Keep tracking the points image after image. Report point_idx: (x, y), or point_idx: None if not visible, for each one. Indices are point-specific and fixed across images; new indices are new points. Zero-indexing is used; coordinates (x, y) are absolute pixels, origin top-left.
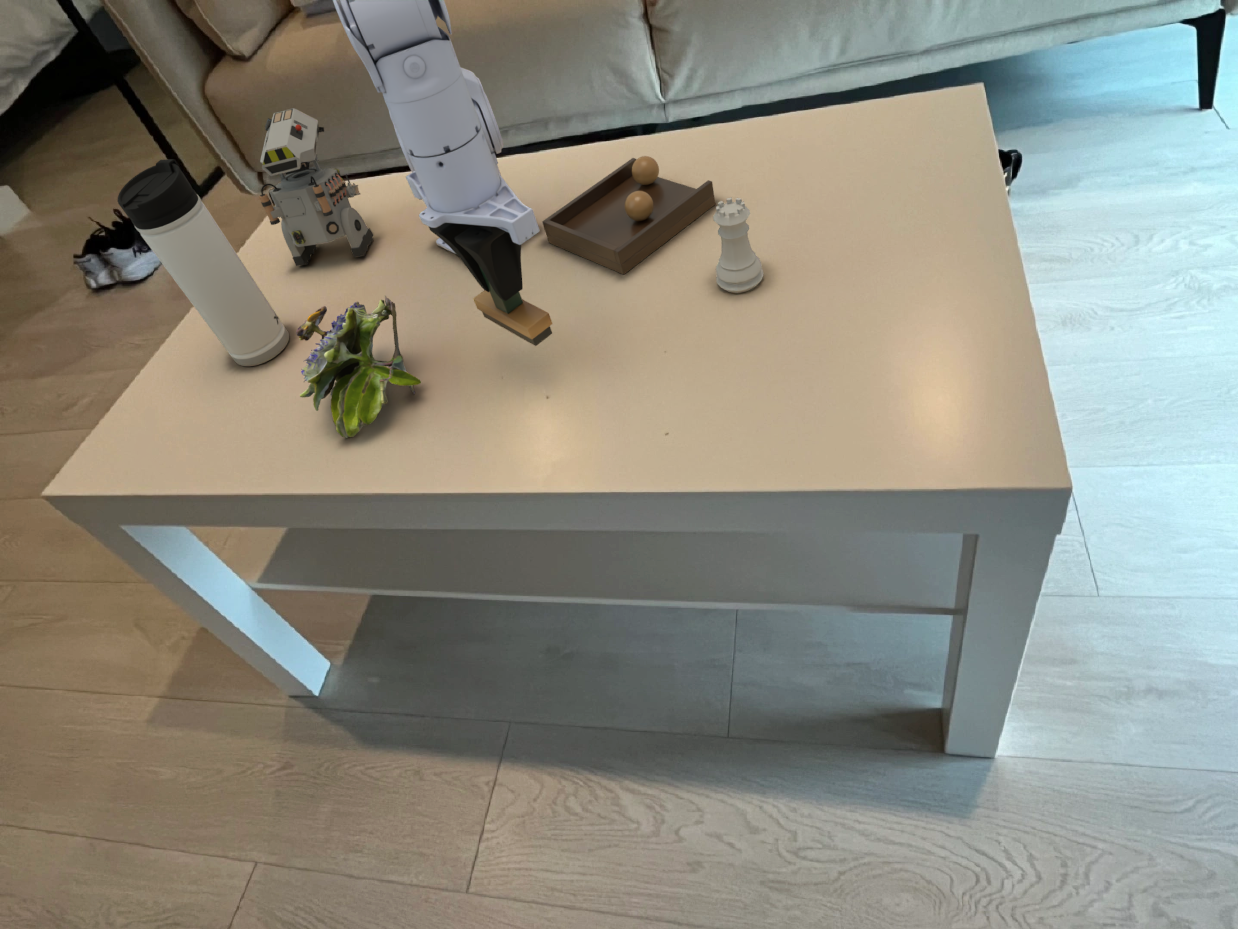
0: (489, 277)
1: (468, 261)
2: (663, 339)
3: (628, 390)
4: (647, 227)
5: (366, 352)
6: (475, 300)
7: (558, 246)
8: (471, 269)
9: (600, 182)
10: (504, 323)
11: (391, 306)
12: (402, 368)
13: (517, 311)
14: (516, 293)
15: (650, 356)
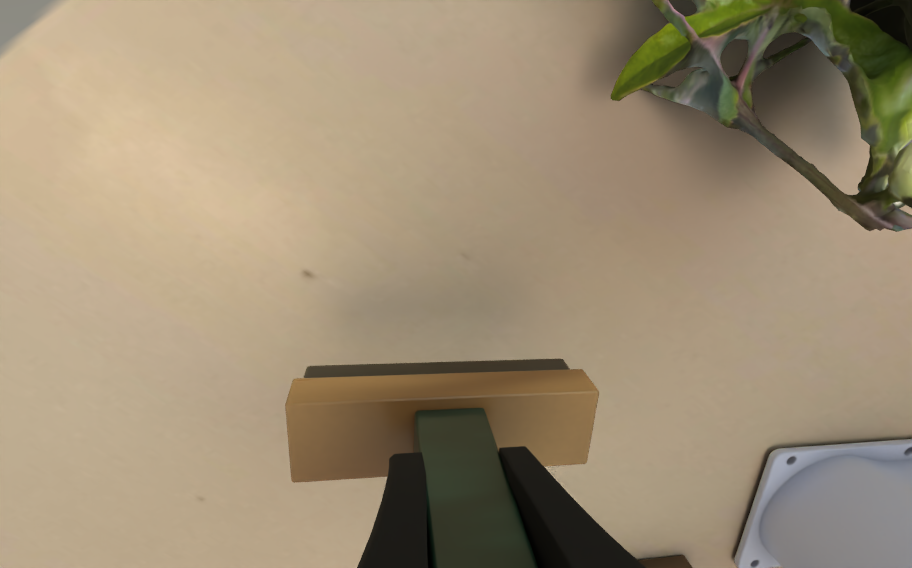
0: (392, 543)
1: (563, 564)
2: (237, 517)
3: (162, 390)
4: None
5: (821, 8)
6: (584, 389)
7: (655, 558)
8: (549, 521)
9: None
10: (436, 375)
11: (872, 215)
12: (698, 98)
13: (398, 433)
14: None
15: (216, 475)
